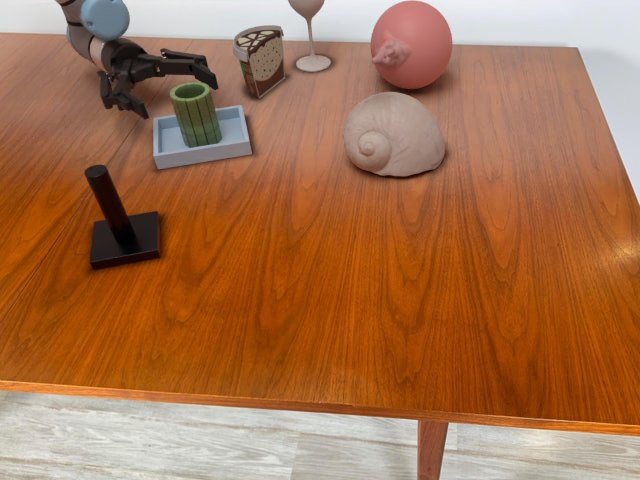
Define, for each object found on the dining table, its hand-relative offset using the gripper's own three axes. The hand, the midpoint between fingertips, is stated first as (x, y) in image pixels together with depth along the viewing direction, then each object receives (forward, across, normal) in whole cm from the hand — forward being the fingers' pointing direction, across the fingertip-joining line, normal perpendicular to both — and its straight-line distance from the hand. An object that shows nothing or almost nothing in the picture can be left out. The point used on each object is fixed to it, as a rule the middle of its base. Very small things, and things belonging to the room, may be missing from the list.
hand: (181, 96), depth 98 cm
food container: (-6, -20, -8) cm, 22 cm away
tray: (+3, 0, -8) cm, 8 cm away
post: (+18, +22, -8) cm, 30 cm away
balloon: (+16, -38, -8) cm, 42 cm away
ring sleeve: (+3, 0, -7) cm, 8 cm away
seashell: (+31, -20, -8) cm, 38 cm away
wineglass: (-6, -33, -8) cm, 34 cm away
